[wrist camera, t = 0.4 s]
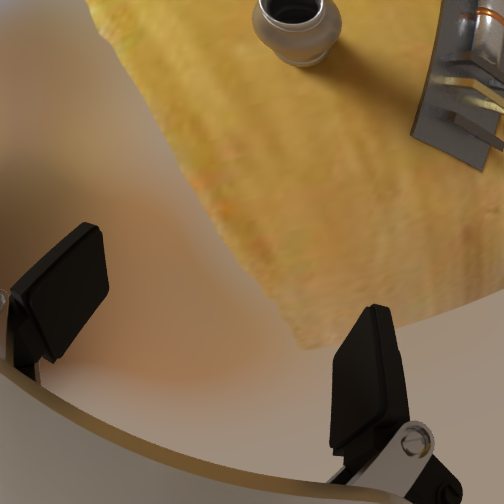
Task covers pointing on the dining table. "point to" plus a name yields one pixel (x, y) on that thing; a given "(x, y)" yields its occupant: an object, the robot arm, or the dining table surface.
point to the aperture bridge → (495, 100)
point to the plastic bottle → (297, 29)
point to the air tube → (489, 30)
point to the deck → (454, 99)
